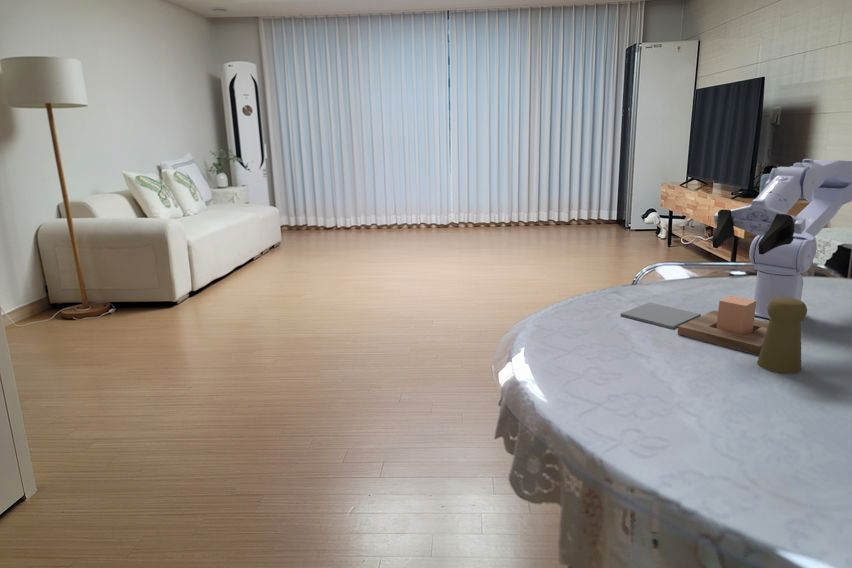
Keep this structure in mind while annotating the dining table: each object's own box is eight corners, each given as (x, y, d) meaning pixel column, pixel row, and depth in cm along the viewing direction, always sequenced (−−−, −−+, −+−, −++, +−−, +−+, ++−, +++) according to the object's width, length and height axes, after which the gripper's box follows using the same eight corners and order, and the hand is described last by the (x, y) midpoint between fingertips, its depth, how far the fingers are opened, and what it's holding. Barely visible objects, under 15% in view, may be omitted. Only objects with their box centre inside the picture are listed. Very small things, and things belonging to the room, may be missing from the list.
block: (726, 329, 110) (730, 295, 109) (752, 335, 107) (756, 300, 105) (715, 334, 108) (719, 300, 106) (741, 341, 104) (745, 305, 103)
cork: (807, 374, 90) (818, 305, 87) (764, 372, 91) (773, 303, 88) (792, 359, 96) (802, 294, 93) (751, 357, 97) (760, 293, 94)
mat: (649, 304, 126) (649, 302, 126) (700, 316, 118) (700, 314, 118) (620, 315, 119) (620, 313, 119) (672, 328, 111) (672, 326, 111)
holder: (713, 317, 117) (713, 310, 117) (791, 335, 107) (792, 327, 106) (677, 333, 108) (678, 326, 108) (758, 354, 98) (759, 346, 97)
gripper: (727, 184, 111) (692, 221, 105) (815, 189, 100) (782, 231, 94) (730, 217, 114) (697, 254, 108) (816, 225, 104) (783, 267, 97)
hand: (736, 246), depth 101 cm, fingers open, 7 cm apart
